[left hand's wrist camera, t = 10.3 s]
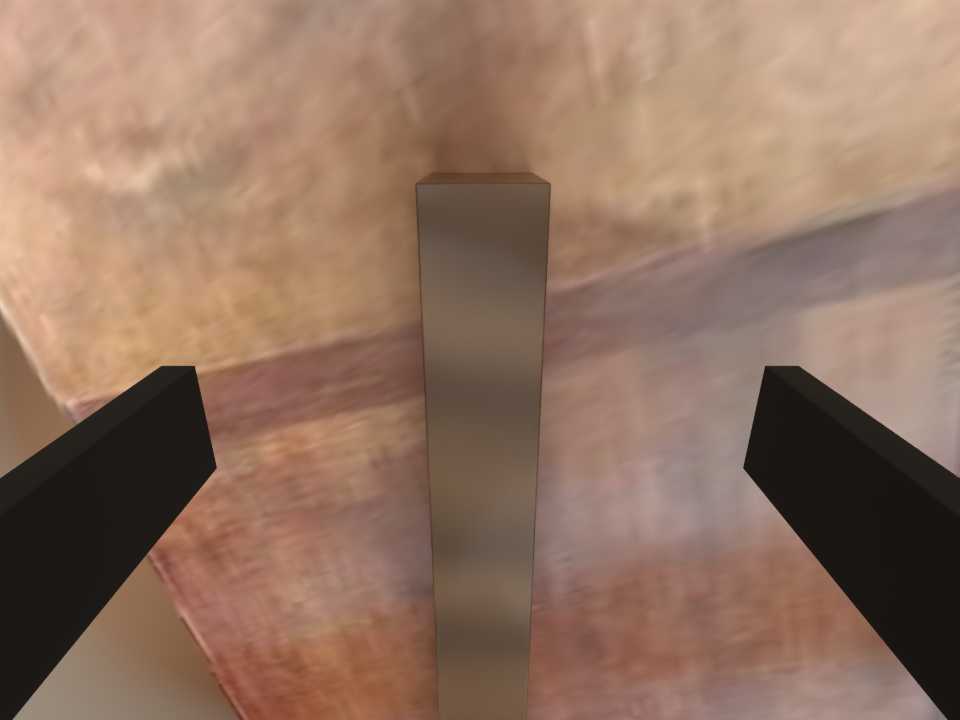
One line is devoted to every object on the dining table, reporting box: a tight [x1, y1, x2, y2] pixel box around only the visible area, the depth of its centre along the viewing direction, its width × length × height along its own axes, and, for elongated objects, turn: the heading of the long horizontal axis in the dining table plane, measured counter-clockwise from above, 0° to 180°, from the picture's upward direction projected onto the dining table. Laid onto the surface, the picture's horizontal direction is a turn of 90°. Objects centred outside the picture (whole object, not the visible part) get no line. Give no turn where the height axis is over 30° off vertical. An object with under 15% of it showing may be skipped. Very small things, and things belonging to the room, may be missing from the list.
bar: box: [415, 173, 551, 720], centre depth 39 cm, size 72×6×8 cm, turn 0°
